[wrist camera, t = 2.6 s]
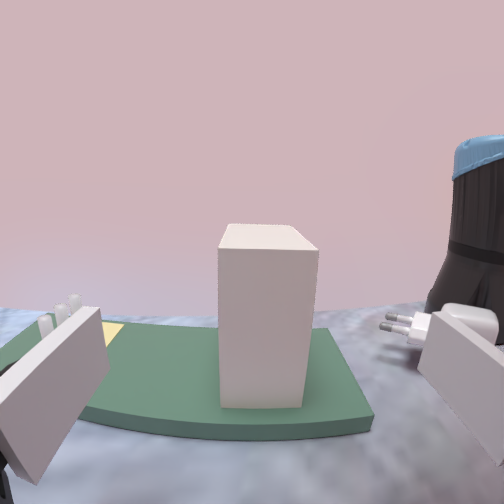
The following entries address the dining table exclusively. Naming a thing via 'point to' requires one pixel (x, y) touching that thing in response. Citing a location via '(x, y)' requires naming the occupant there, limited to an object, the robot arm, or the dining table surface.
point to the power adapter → (468, 315)
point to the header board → (201, 384)
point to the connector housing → (264, 315)
